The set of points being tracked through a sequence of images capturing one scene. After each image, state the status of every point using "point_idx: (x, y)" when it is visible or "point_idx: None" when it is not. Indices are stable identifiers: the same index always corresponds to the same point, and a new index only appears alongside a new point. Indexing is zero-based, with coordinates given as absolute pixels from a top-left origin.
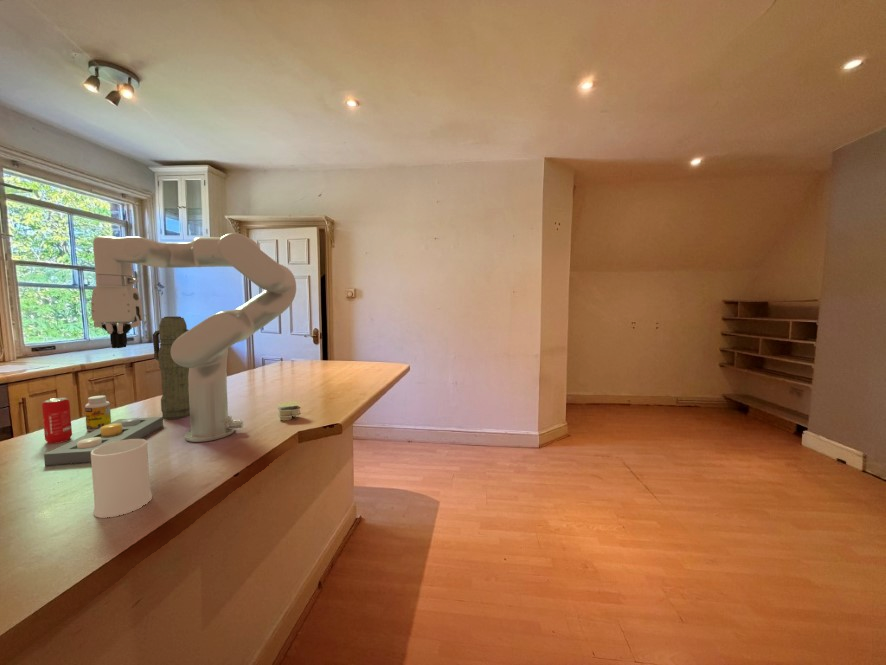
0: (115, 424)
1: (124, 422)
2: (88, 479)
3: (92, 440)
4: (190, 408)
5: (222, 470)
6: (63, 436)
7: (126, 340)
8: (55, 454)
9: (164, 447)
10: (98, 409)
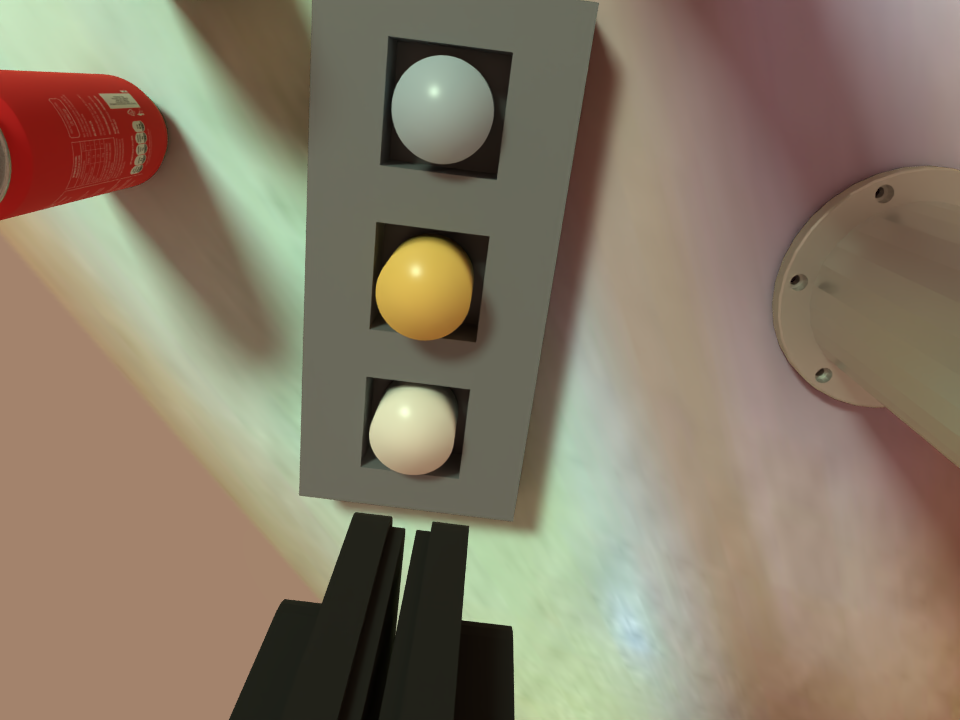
0: (432, 271)
1: (429, 158)
2: (537, 619)
3: (426, 442)
4: (900, 409)
5: (947, 683)
6: (153, 170)
7: (512, 688)
8: (341, 498)
9: (701, 407)
10: None
